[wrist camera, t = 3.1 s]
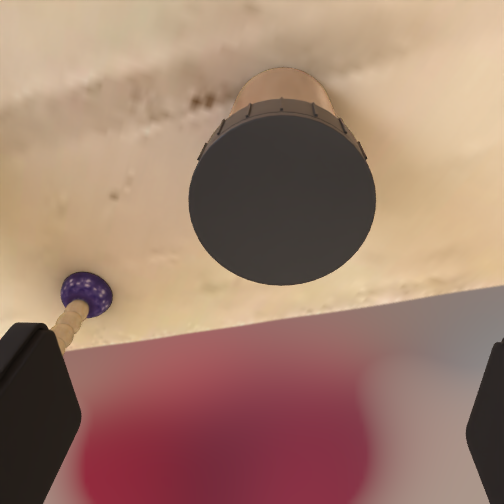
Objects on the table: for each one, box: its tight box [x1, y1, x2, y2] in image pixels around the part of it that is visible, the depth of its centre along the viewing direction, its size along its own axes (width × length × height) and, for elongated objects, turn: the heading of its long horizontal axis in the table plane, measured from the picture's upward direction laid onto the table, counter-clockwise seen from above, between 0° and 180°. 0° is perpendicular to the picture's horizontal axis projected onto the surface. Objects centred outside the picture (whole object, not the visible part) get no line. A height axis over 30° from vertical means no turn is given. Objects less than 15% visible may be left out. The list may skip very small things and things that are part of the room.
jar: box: [228, 67, 336, 118], centre depth 24 cm, size 7×7×13 cm
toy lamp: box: [50, 272, 112, 356], centre depth 31 cm, size 5×5×17 cm
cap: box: [189, 97, 376, 286], centre depth 19 cm, size 8×8×3 cm
